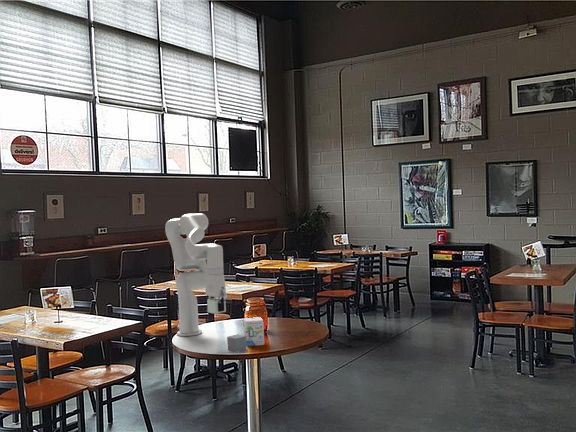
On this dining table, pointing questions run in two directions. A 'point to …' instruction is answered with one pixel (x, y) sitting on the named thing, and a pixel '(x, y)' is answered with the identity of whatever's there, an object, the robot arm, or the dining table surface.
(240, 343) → the slate block
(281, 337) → the dining table surface
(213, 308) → the sage block
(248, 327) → the ink box
